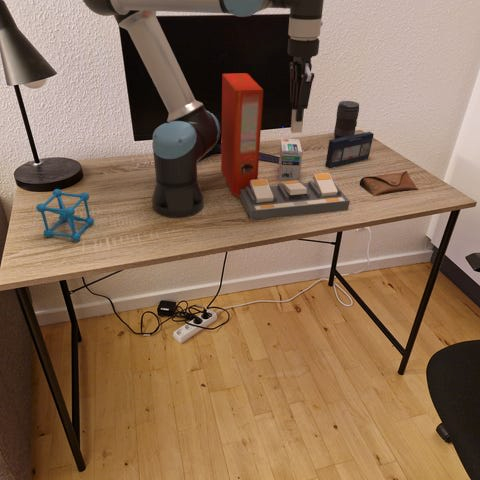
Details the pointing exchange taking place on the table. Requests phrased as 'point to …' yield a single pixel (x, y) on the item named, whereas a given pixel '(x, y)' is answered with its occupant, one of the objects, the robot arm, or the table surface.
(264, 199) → the switch left
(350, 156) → the vhs cassette tape
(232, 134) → the file binder
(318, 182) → the switch right
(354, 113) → the camera lens
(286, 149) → the light bulb box
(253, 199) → the switch unit
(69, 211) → the molecular structure
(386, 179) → the sunglasses case
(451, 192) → the table surface
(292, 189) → the switch middle
